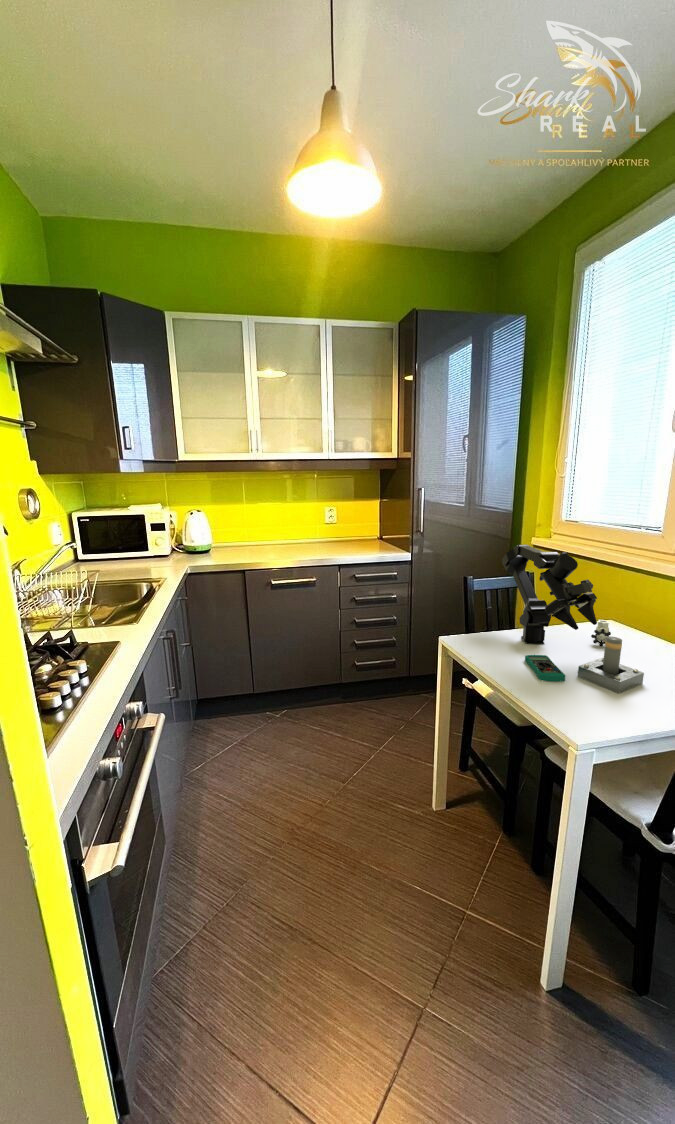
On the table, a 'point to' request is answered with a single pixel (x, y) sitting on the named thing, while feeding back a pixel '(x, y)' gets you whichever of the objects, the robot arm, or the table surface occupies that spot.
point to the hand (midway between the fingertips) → (586, 626)
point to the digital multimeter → (544, 668)
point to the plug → (612, 655)
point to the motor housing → (610, 676)
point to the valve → (601, 632)
